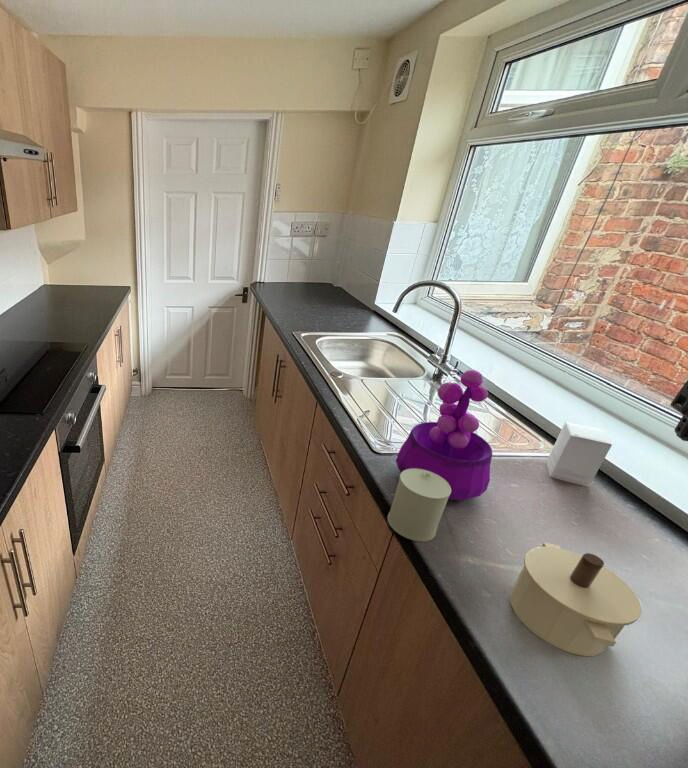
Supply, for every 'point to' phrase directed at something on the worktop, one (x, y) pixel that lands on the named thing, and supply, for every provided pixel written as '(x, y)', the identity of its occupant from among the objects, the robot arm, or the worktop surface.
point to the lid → (582, 585)
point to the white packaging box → (578, 454)
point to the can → (418, 504)
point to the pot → (559, 620)
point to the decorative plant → (452, 441)
